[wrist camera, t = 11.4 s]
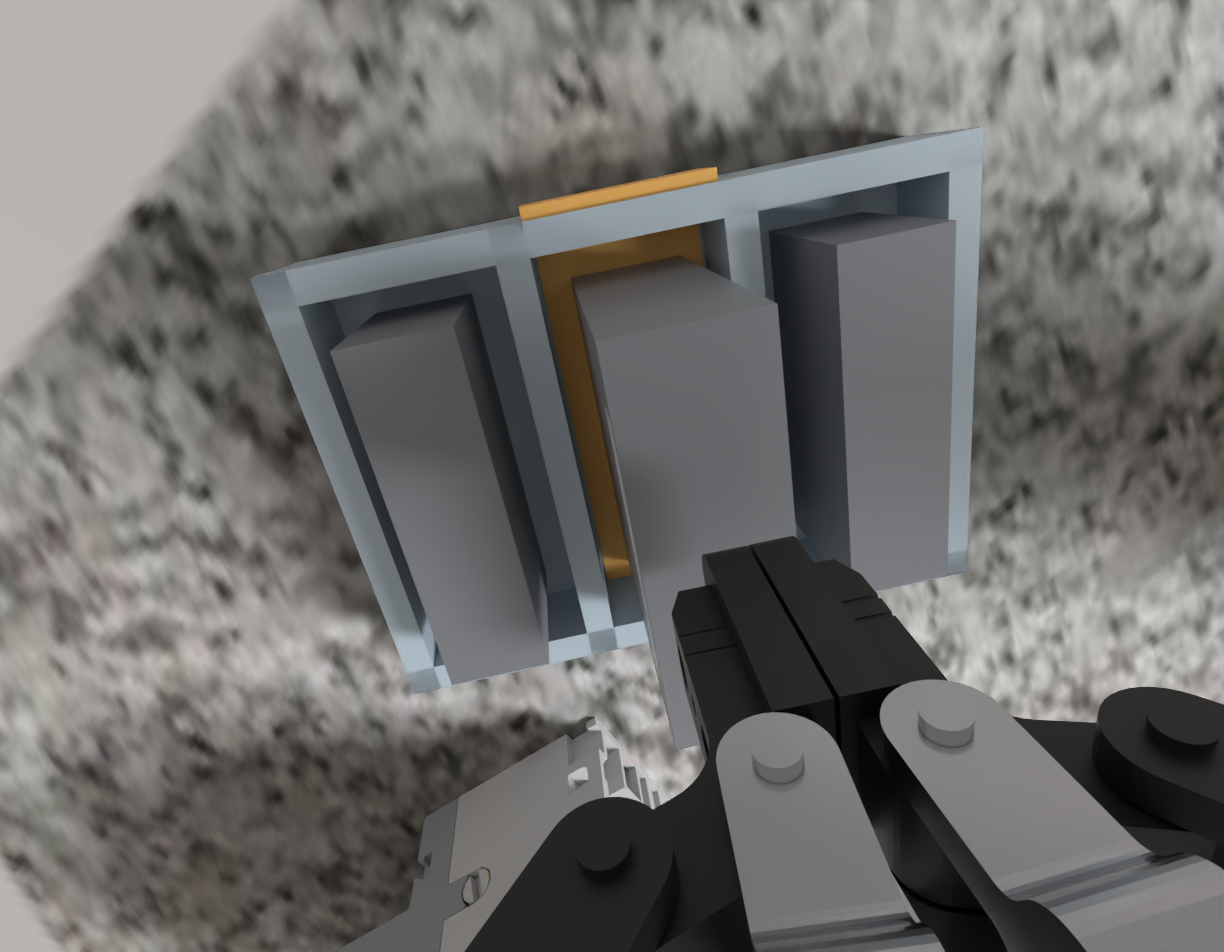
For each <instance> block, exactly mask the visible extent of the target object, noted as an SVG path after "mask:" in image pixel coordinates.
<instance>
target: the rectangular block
mask: <svg viewBox="0 0 1224 952" xmlns="http://www.w3.org/2000/svg"><path fill="white" fill-rule="evenodd" d="M571 283H572V288H573V293H574V298H575V302H576V307H577V312H578V317H579V322H580V327H581V332H582V337H583V342H584V346H585V351H586V356H587V361H588V366H589V371H590V376H591V381H592V385H593V390H594V395H595V400H596V405H597V410H598V415H599V420H600V425H601V429H602V434H603V439H604V444H605V449H606V454H607V459H608V464H609V468H610V473H611V478H612V483H613V488H614V493H615V498H616V503H617V507H618V512H619V517H620V522H621V527H622V532H623V537H624V542H625V547H626V551H627V556H628V561H629V565H630V569H631V573H632V577H633V581H634V585H635V589H636V593H637V597H638V601H639V605H640V609H641V613H642V617H643V621H644V625H645V628H646V632H647V636H648V640H649V644H650V648H651V652H652V656H653V660H654V664H655V668H656V672H657V676H658V680H659V684H660V688H661V692H662V696H663V700H664V704H665V708H666V712H667V716H668V720H669V724H670V728H671V732H672V736H673V740H674V744H675V748H676V750H679V749H683V748H688V747H692V746H696V745H700V741H699V738H698V733H697V731H696V727H695V724H694V720H693V716H692V712H691V710H690V706H689V702H688V699H687V695H686V692H685V688H684V683H683V677H682V672H681V666H680V660H679V654H678V649H677V643H676V637H675V631H674V626H673V620H672V614H671V613H672V610H673V607H674V604H675V601H676V597H677V594H678V591H683V590H688V589H692V588H697V587H702V586H705V581H704V574H703V567H702V555H703V554H708V553H713V552H718V551H722V550H727V549H732V548H737V547H742V546H747V547H748V546H749V545H750V544H755V543H760V542H765V541H770V540H775V539H779V538H784V537H789V536H795V537H796V538H797V536H796V524H795V511H794V499H793V487H792V475H791V462H790V450H789V438H788V426H787V413H786V401H785V389H784V377H783V365H782V352H781V340H780V328H779V316H778V304H777V303H775V302H773V301H771V300H769V299H767V298H765V297H763V296H761V295H759V294H757V293H755V292H753V291H751V290H749V289H747V288H745V287H743V286H741V285H739V284H737V283H734V282H732V281H730V280H728V279H726V278H724V277H722V276H720V275H718V274H716V273H714V272H712V271H710V270H708V269H706V268H704V267H702V266H700V265H698V264H696V263H694V262H692V261H690V260H688V259H686V258H684V257H682V256H680V255H678V256H673V257H669V258H664V259H659V260H654V261H649V262H645V263H640V264H635V265H630V266H625V267H621V268H616V269H611V270H606V271H601V272H596V273H592V274H587V275H582V276H577V277H572V278H571Z"/></svg>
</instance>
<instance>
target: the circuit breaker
mask: <svg viewBox="0 0 1224 952" xmlns="http://www.w3.org/2000/svg"><path fill="white" fill-rule="evenodd" d="M586 727H587V730H588V731H586V732H584V733H583V734H581V735H579V736H578V737H576V738H574V739H571V738H570V737H569V736H568V735H567V734H565V735H564V736H562V737H560V738H558V739H557V740H555V741H553V742H552V743H550V744H548V745H546V746H545V747H543V748H541V749H540V750H538V751H536V752H535V753H533V754H531V755H529V756H528V757H526V758H524V759H523V760H521V761H519V762H518V763H516V764H514V765H512V766H511V767H509V768H507V769H506V770H504V771H502V772H501V773H499V774H497V775H495V776H494V777H492V778H490V779H489V780H487V781H485V782H484V783H482V784H480V785H478V786H477V787H475V788H473V789H472V790H470V791H468V792H466V793H465V794H463V795H461V796H460V797H459V798H456V799H455V800H453V801H451V802H450V803H448V804H446V805H444V806H443V807H441V808H439V809H438V810H436V811H434V812H433V813H431V814H429V815H428V816H427V817H426V818H425V820H424V826H423V832H422V838H421V844H420V849H419V855H418V862H419V863H420V864H422V865H423V866H424V867H425V869H424V875H423V879H417V878H415V879H414V884H413V890H412V896H411V902H410V906H409V908H408V910H407V911H405V912H403V913H401V914H400V915H398V916H396V917H394V918H393V919H391V920H389V921H387V922H386V923H384V924H382V925H380V926H379V927H377V928H375V929H373V930H372V931H370V932H368V933H366V934H365V935H363V936H361V937H359V938H358V939H356V940H354V941H352V942H351V943H349V944H347V945H345V946H344V947H342V948H340V949H338V950H337V951H335V952H464V951H465V950H466V949H467V947H468V946H469V944H470V943H471V942H472V940H473V939H474V937H475V936H476V935H477V933H478V932H479V931H480V929H481V928H482V926H483V925H484V924H485V922H486V921H487V919H488V918H489V917H490V915H491V914H492V913H493V911H494V910H495V908H496V907H497V906H498V904H499V903H500V901H501V900H502V899H503V897H504V896H505V895H506V893H507V892H508V890H509V889H510V888H511V886H512V885H513V883H514V882H515V881H516V879H517V878H518V877H519V875H520V874H521V872H522V871H523V870H524V868H525V867H526V865H527V864H528V863H529V861H530V860H531V859H532V857H533V856H534V854H535V853H536V852H537V850H538V849H539V848H540V846H541V845H542V843H543V842H544V841H545V839H546V838H547V836H548V835H549V834H550V832H551V831H552V830H553V828H554V827H555V826H556V825H557V824H558V822H559V821H560V820H561V819H562V818H563V817H565V816H566V815H567V814H568V813H569V812H571V811H572V810H574V809H575V808H577V807H578V806H581V805H583V804H585V803H587V802H589V801H592V800H596V799H599V798H605V797H624V798H630V799H634V800H637V801H640V802H642V803H643V804H645V805H647V806H649V807H650V808H651V809H655V808H656V807H658V806H660V805H662V804H664V803H665V802H667V801H669V800H670V799H669V797H668V796H667V795H666V794H665V793H664V792H663V791H662V790H661V789H660V788H659V786H658V785H657V784H656V783H655V782H654V781H653V780H652V779H651V778H650V777H649V775H648V774H647V773H646V772H645V771H644V770H643V769H642V768H641V767H640V766H639V765H638V763H637V762H636V761H635V760H634V759H633V758H632V757H631V756H630V755H629V754H628V752H627V751H626V750H625V749H624V748H623V747H622V746H621V745H620V744H619V743H618V741H617V740H616V739H615V738H614V737H613V736H612V735H611V734H610V733H609V732H608V730H607V729H606V728H605V727H604V726H603V725H602V724H601V723H600V722H599V721H598V720H597V718H596V717H594V718H592V719H591V720H589V721H587V722H586ZM624 767H625V768H626V769H625V770H624Z"/></svg>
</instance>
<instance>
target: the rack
mask: <svg viewBox="0 0 1224 952" xmlns="http://www.w3.org/2000/svg"><path fill="white" fill-rule="evenodd" d="M983 142H984V127H977V128H969V129H961V130H953V131H945V132H938V133H930V134H922V135H914V136H906V137H901V138H896V139H891V140H887V141H882V142H877V143H872V144H867V145H862V146H857V147H853V148H848V149H843V150H838V151H833V152H828V153H823V154H819V155H814V156H809V157H804V158H799V159H794V160H790V161H785V162H780V163H775V164H770V165H765V166H760V167H756V168H751V169H746V170H741V171H736V172H731V173H726V174H722V175H717V167H710V168H699V169H693V170H688V171H683V172H678V173H674V174H669V175H664V176H659V177H654V178H649V179H644V180H639V181H635V182H630V183H625V184H620V185H615V186H610V187H605V188H601V189H596V190H591V191H586V192H581V193H576V194H571V195H567V196H562V197H557V198H552V199H547V200H542V201H537V202H532V203H528V204H523V205H520V206H519V212H520V216H518V217H513V218H508V219H503V220H498V221H493V222H489V223H484V224H479V225H474V226H469V227H464V228H459V229H455V230H450V231H445V232H440V233H435V234H430V235H425V236H421V237H416V238H411V239H406V240H401V241H396V242H391V243H387V244H382V245H377V246H372V247H367V248H362V249H357V250H353V251H348V252H343V253H338V254H333V255H328V256H323V257H319V258H314V259H309V260H304V261H299V262H296V263H293V264H290V265H287V266H284V267H281V268H278V269H275V270H272V271H269V272H266V273H263V274H260V275H257V276H254V277H251V278H249V279H250V281H251V284H252V286H253V289H254V291H255V294H256V296H257V299H258V301H259V304H260V306H261V309H262V311H263V314H264V316H265V319H266V321H267V324H268V326H269V329H270V331H271V334H272V336H273V339H274V341H275V344H276V346H277V349H278V351H279V354H280V356H281V359H282V361H283V364H284V366H285V369H286V371H287V374H288V376H289V379H290V381H291V384H292V386H293V389H294V392H295V394H296V397H297V399H298V402H299V404H300V407H301V409H302V412H303V414H304V417H305V419H306V422H307V424H308V427H309V429H310V432H311V434H312V437H313V439H314V442H315V444H316V447H317V449H318V452H319V454H320V457H321V459H322V462H323V464H324V467H325V469H326V472H327V474H328V477H329V479H330V482H331V484H332V487H333V489H334V492H335V494H336V497H337V499H338V502H339V504H340V507H341V509H342V512H343V514H344V517H345V519H346V522H347V524H348V527H349V530H350V532H351V535H352V537H353V540H354V542H355V545H356V547H357V550H358V552H359V555H360V557H361V560H362V562H363V565H364V567H365V570H366V572H367V575H368V577H369V580H370V582H371V585H372V587H373V590H374V592H375V595H376V597H377V600H378V602H379V605H380V607H381V610H382V612H383V615H384V617H385V620H386V622H387V625H388V627H389V630H390V632H391V635H392V637H393V640H394V642H395V645H396V647H397V650H398V652H399V655H400V657H401V660H402V662H403V665H404V668H405V670H406V673H407V675H408V678H409V680H410V683H411V685H412V688H413V690H414V693H415V694H417V693H421V692H426V691H430V690H435V689H439V688H444V687H448V686H453V685H457V684H462V683H466V682H471V681H475V680H480V679H484V678H489V677H494V676H498V675H503V674H507V673H512V672H516V671H521V670H525V669H530V668H534V667H539V666H543V665H548V664H552V663H557V662H561V661H566V660H570V659H575V658H579V657H584V656H588V655H593V654H597V653H602V652H606V651H611V650H615V649H620V648H624V647H629V646H633V645H638V644H642V643H647V642H649V640H648V636H647V632H646V628H645V625H644V621H643V617H642V613H641V609H640V605H639V601H638V597H637V593H636V589H635V585H634V581H633V577H632V573H631V569H630V565H629V561H628V556H627V551H626V547H625V542H624V537H623V532H622V527H621V522H620V517H619V512H618V507H617V503H616V498H615V493H614V488H613V483H612V478H611V473H610V468H609V464H608V459H607V454H606V449H605V444H604V439H603V434H602V429H601V425H600V420H599V415H598V410H597V405H596V400H595V395H594V390H593V385H592V381H591V376H590V371H589V366H588V361H587V356H586V351H585V346H584V342H583V337H582V332H581V327H580V322H579V317H578V312H577V307H576V302H575V298H574V293H573V288H572V283H571V278H572V277H577V276H582V275H587V274H592V273H596V272H601V271H606V270H611V269H616V268H621V267H625V266H630V265H635V264H640V263H645V262H649V261H654V260H659V259H664V258H669V257H673V256H678V255H680V256H682V257H684V258H686V259H688V260H690V261H692V262H694V263H696V264H698V265H700V266H702V267H704V268H706V269H708V270H710V271H712V272H714V273H716V274H718V275H720V276H722V277H724V278H726V279H728V280H730V281H732V282H734V283H737V284H739V285H741V286H743V287H745V288H747V289H749V290H751V291H753V292H755V293H757V294H759V295H761V296H763V297H765V298H767V299H769V300H771V301H773V302H775V303H777V304H778V316H779V328H780V340H781V352H782V365H783V377H784V389H785V401H786V413H787V426H788V438H789V450H790V462H791V475H792V487H793V499H794V511H795V524H796V536H797V539H798V541H799V542H800V544H801V545H802V546H803V548H804V549H805V551H806V552H807V553H808V555H809V556H810V558H811V559H812V560H813V562H814V563H817V562H821V561H826V560H831V559H835V560H837V561H839V562H840V563H842V564H844V565H846V566H848V567H849V568H851V569H853V570H855V571H857V572H859V573H860V574H861V575H862V576H863V577H864V578H865V579H866V581H867V582H868V583H869V584H870V586H871V587H872V588H873V589H874V591H875V592H877V591H882V590H886V589H891V588H895V587H900V586H904V585H909V584H913V583H918V582H922V581H927V580H931V579H936V578H940V577H945V576H949V575H954V574H958V573H963V572H967V547H968V522H969V497H970V471H971V446H972V421H973V395H974V370H975V345H976V319H977V294H978V269H979V243H980V218H981V193H982V167H983Z"/></svg>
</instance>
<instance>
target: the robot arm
mask: <svg viewBox="0 0 1224 952" xmlns="http://www.w3.org/2000/svg"><path fill="white" fill-rule="evenodd" d="M702 567H703V574H704V581H705V586H702V587H697V588H692V589H688V590H683V591H678V594H677V597H676V601H675V604H674V607H673V610H672V613H671V614H672V620H673V626H674V631H675V637H676V643H677V649H678V654H679V660H680V666H681V672H682V677H683V683H684V688H685V692H686V695H687V699H688V702H689V706H690V710H691V712H692V716H693V720H694V724H695V727H696V731H697V733H698V738H699V741H700V745H701V749H702V752H703V756H704V759H705V766H704V768H703V770H702V771H701V773H700V775H699V776H698V777H697V779H696V780H695V781H694V782H693V783H692V784H691V785H690V786H689V787H688V788H687V789H686V790H685V791H683V792H682V793H680V794H679V795H677V796H676V797H674V798H672V799H671V800H669V801H667V802H665V803H664V804H662V805H660V806H658V807H656V808H655V809H651V808H650V807H649V806H647V805H645V804H643V803H642V802H640V801H637V800H634V799H630V798H624V797H605V798H599V799H596V800H592V801H589V802H587V803H585V804H583V805H581V806H578V807H577V808H575V809H574V810H572V811H571V812H569V813H568V814H567V815H566V816H565V817H563V818H562V819H561V820H560V821H559V822H558V824H557V825H556V826H555V827H554V828H553V830H552V831H551V832H550V834H549V835H548V836H547V838H546V839H545V841H544V842H543V843H542V845H541V846H540V848H539V849H538V850H537V852H536V853H535V854H534V856H533V857H532V859H531V860H530V861H529V863H528V864H527V865H526V867H525V868H524V870H523V871H522V872H521V874H520V875H519V877H518V878H517V879H516V881H515V882H514V883H513V885H512V886H511V888H510V889H509V890H508V892H507V893H506V895H505V896H504V897H503V899H502V900H501V901H500V903H499V904H498V906H497V907H496V908H495V910H494V911H493V913H492V914H491V915H490V917H489V918H488V919H487V921H486V922H485V924H484V925H483V926H482V928H481V929H480V931H479V932H478V933H477V935H476V936H475V937H474V939H473V940H472V942H471V943H470V944H469V946H468V947H467V949H466V950H465V951H464V952H1224V705H1223V704H1220V703H1217V702H1214V701H1211V700H1208V699H1205V698H1202V697H1199V696H1196V695H1192V694H1189V693H1185V692H1181V691H1177V690H1172V689H1167V688H1157V687H1136V688H1128V689H1125V690H1121V691H1118V692H1116V693H1114V694H1111V695H1110V696H1109V697H1107V698H1106V699H1105V700H1104V701H1103V703H1102V704H1101V705H1100V708H1099V711H1098V716H1097V723H1087V722H1067V721H1047V720H1032V719H1023V718H1018V717H1012V716H1011V715H1010V714H1009V713H1008V712H1007V711H1006V710H1005V709H1004V708H1003V707H1002V706H1001V705H999V704H998V703H997V702H996V701H995V700H994V699H992V698H991V697H989V696H988V695H986V694H984V693H982V692H980V691H978V690H976V689H974V688H972V687H969V686H966V685H964V684H960V683H956V682H952V681H948V680H947V679H946V678H945V677H944V675H943V674H942V673H941V672H940V670H939V669H938V668H937V667H936V665H935V664H934V663H933V662H932V661H931V659H930V658H929V657H928V656H927V654H926V653H925V652H924V651H923V649H922V648H921V647H920V646H919V645H918V643H917V642H916V641H915V640H914V638H913V637H912V636H911V635H910V634H909V632H908V631H907V630H906V629H905V627H904V626H903V625H902V624H901V622H900V621H899V620H898V619H897V618H896V616H893V615H892V613H891V610H890V609H889V608H888V606H887V605H886V604H885V603H884V602H883V600H882V599H881V598H878V595H877V593H876V592H875V591H874V589H873V588H872V587H871V586H870V584H869V583H868V582H867V581H866V579H865V578H864V577H863V576H862V575H861V574H860V573H859V572H857V571H855V570H853V569H851V568H849V567H848V566H846V565H844V564H842V563H840V562H839V561H837V560H835V559H831V560H826V561H821V562H817V563H814V562H813V560H812V559H811V558H810V556H809V555H808V553H807V552H806V551H805V549H804V548H803V546H802V545H801V544H800V542H799V541H798V539H797V538H796V537H795V536H789V537H784V538H779V539H775V540H770V541H765V542H760V543H755V544H750V545H749V546H748V547H747V546H742V547H737V548H732V549H727V550H722V551H718V552H713V553H708V554H703V555H702Z"/></svg>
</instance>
